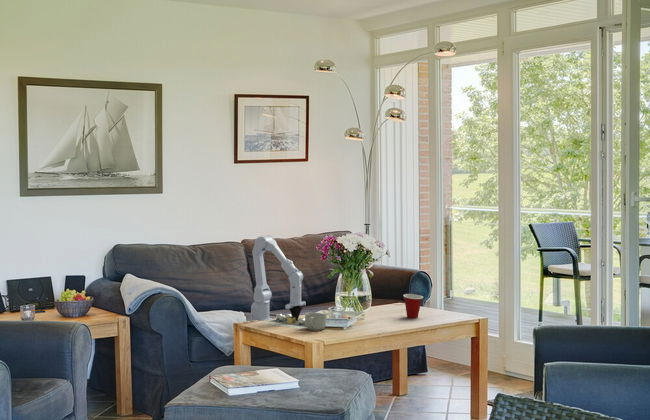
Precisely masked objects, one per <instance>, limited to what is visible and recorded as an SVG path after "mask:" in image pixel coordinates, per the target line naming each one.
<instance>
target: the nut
mask: <svg viewBox="0 0 650 420" xmlns="http://www.w3.org/2000/svg"><path fill="white" fill-rule="evenodd" d="M287 324H296V318H295V317H287Z"/></svg>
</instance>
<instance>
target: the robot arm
mask: <svg viewBox="0 0 650 420" xmlns="http://www.w3.org/2000/svg"><path fill="white" fill-rule="evenodd" d="M266 251H268V252H271V253H272V254H273V255H274V256H275V257H276V259H278V261H279V262H280V263H281V264H280V267H281V268H282V270H283V271H284V272H285V273H286V275H287V276H288V278H287V279H288V281H289V284H290V286H289V287H290V289H289V290H290V293H289V294H290V295H289V299H290V300H289V303H286V304H285V305H284V306H285V309H286V310H287V309H289V312H290V314H292V317H295V318H296V321H298V319H299V317H300V315H301V312H302V310H303V306H306V304H307V303H306V301H304V300H303V301H302V281H303V279H304V274H303V271H301V270H299V269H298V268H297V267H296V266H295V265H294V262H293V260H290V259H289V258H286V256H285V254H284V253H283V251H282V250H281V248H280V246H279V245H278V243H277V241H276V240H275V239H274V237H273V236H272V235H266V236H265V235H264V236H263V235H262V236H259V237H257V238H256V239H255V240H254V246H253V248H252V252H251V253H252V259H253V268H254V276H255V283H256V285H255V287H254V289H253V291H254V292H253V301H254V302H252V304H251V306H250V318H249V319H250V320H254V321H263V322H266V321H271V320H274V319H273V318H272V317H270V302H271V299H272V297H273V293H272V291H271V289H270V285H269V284H267V274H266V267H265V260H264V254H265V252H266Z"/></svg>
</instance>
